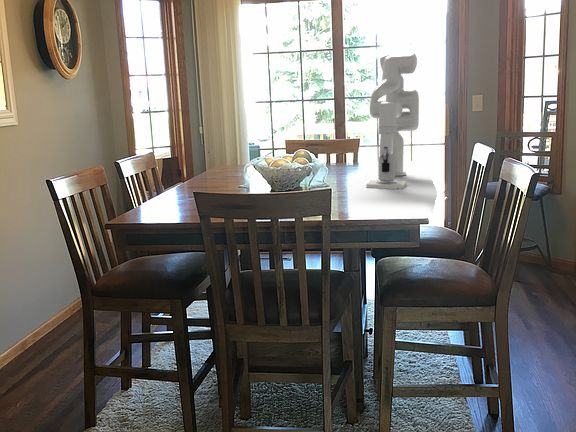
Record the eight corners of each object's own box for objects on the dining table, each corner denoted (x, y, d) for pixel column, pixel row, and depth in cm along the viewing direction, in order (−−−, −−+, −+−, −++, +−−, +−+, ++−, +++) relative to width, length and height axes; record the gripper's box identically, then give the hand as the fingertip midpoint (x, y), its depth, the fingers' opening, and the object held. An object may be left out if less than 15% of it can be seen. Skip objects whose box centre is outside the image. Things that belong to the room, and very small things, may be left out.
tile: (371, 183, 280) (371, 180, 280) (406, 184, 276) (406, 181, 275) (366, 187, 268) (366, 184, 268) (403, 188, 263) (403, 184, 263)
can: (396, 181, 268) (396, 154, 265) (379, 182, 268) (379, 154, 266) (394, 179, 275) (394, 152, 273) (377, 179, 275) (377, 153, 273)
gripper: (381, 129, 277) (381, 168, 280) (375, 131, 260) (375, 173, 264) (398, 129, 274) (397, 168, 278) (393, 131, 258) (393, 173, 261)
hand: (386, 170), depth 271 cm, fingers closed on can, 7 cm apart
